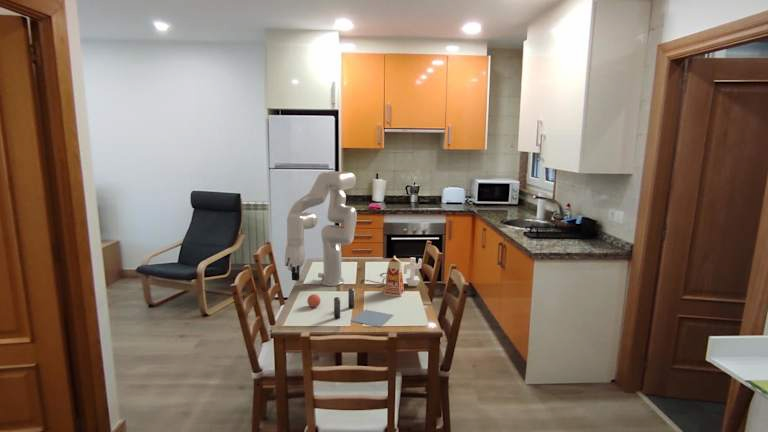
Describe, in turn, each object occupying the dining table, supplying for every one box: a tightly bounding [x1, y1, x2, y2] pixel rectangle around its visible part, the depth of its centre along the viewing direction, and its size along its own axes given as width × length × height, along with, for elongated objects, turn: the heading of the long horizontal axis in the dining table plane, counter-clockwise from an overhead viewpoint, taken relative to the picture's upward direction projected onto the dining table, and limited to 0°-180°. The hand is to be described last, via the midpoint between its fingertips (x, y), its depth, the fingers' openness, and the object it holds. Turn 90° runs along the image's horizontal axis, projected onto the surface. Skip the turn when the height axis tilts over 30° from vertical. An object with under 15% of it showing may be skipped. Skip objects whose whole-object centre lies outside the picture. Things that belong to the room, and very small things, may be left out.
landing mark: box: [350, 309, 394, 328], centre depth 195 cm, size 14×14×1 cm
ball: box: [307, 293, 322, 308], centre depth 206 cm, size 6×6×6 cm
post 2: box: [347, 287, 355, 310], centre depth 205 cm, size 3×3×9 cm
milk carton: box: [383, 255, 405, 297], centre depth 225 cm, size 9×9×20 cm
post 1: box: [333, 297, 341, 320], centre depth 193 cm, size 3×3×9 cm
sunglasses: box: [360, 272, 387, 287], centre depth 245 cm, size 17×15×5 cm
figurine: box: [403, 257, 423, 287], centre depth 238 cm, size 7×9×15 cm
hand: (295, 279), depth 207 cm, fingers closed
